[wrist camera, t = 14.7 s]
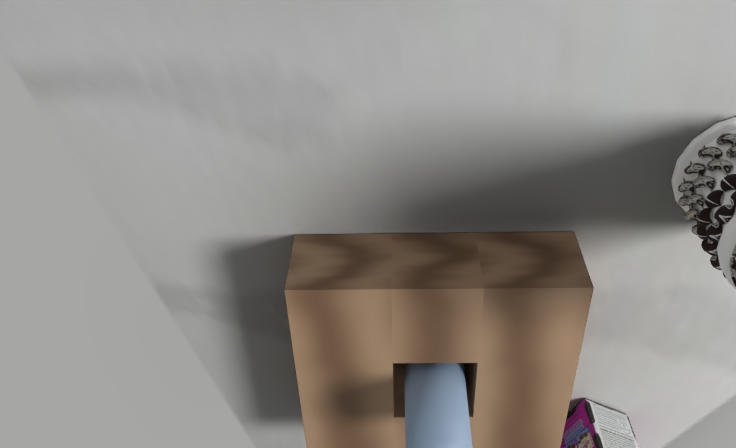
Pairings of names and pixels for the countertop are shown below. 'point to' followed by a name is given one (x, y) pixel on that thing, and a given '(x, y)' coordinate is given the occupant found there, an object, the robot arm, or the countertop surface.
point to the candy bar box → (597, 428)
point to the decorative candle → (711, 192)
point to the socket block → (436, 331)
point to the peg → (436, 406)
